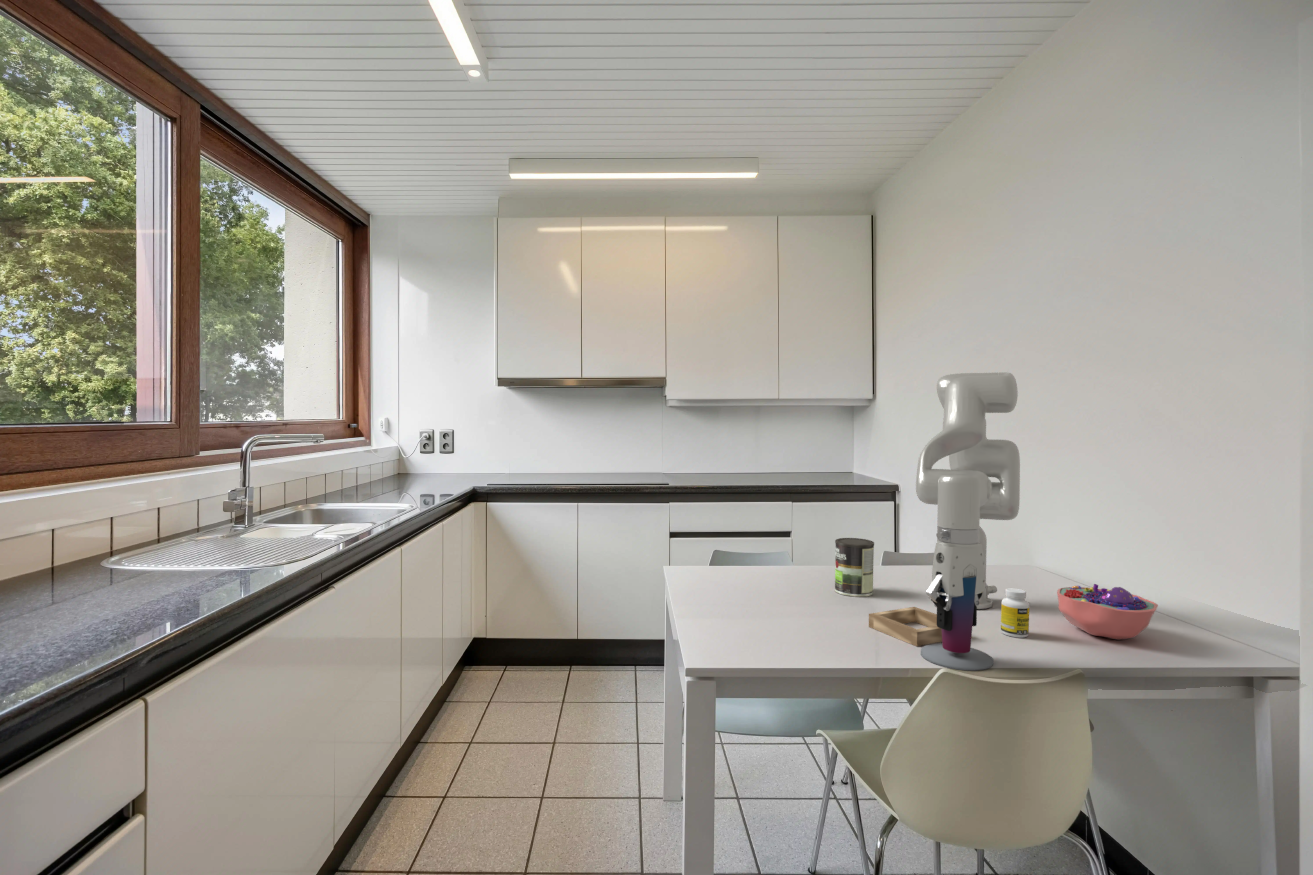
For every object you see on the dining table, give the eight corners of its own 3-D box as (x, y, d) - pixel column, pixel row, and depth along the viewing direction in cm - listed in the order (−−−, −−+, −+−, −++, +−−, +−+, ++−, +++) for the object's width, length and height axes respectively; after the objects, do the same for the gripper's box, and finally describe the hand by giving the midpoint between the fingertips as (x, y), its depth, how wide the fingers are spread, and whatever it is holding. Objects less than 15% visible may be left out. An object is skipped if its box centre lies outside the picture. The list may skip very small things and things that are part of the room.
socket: (914, 619, 152) (914, 606, 152) (964, 637, 139) (964, 623, 139) (868, 626, 146) (868, 613, 146) (916, 646, 134) (917, 632, 134)
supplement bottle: (1018, 639, 138) (1019, 594, 138) (995, 632, 143) (996, 588, 143) (1034, 635, 141) (1035, 591, 140) (1010, 628, 145) (1011, 585, 145)
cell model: (1097, 618, 153) (1098, 571, 153) (1179, 647, 134) (1180, 593, 133) (1035, 622, 150) (1036, 574, 150) (1109, 652, 131) (1110, 597, 130)
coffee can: (843, 597, 171) (844, 544, 171) (828, 587, 181) (829, 537, 181) (880, 596, 172) (881, 544, 172) (863, 586, 182) (864, 537, 182)
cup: (942, 653, 125) (943, 576, 124) (934, 641, 131) (935, 568, 131) (979, 655, 123) (981, 578, 123) (970, 643, 130) (971, 570, 130)
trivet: (952, 642, 136) (952, 640, 136) (1008, 664, 124) (1008, 660, 124) (906, 651, 130) (906, 648, 130) (960, 674, 119) (960, 671, 119)
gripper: (941, 542, 120) (940, 638, 120) (1005, 536, 127) (1003, 626, 127) (910, 536, 127) (909, 626, 127) (972, 530, 134) (970, 615, 134)
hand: (956, 625), depth 127 cm, fingers closed on cup, 6 cm apart
